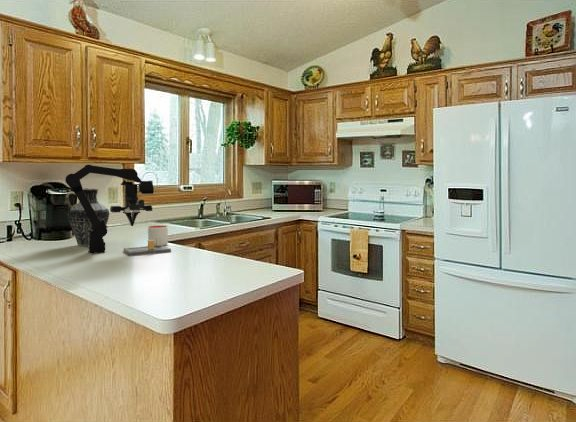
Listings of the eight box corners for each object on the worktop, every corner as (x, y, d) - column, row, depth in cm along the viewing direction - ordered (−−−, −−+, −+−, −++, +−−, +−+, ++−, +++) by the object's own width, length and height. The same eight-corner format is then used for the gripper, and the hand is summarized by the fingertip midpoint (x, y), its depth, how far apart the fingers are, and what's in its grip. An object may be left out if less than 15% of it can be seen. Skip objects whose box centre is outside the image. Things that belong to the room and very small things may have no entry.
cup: (162, 247, 206) (161, 228, 206) (144, 246, 208) (144, 227, 208) (171, 244, 216) (171, 225, 215) (154, 243, 218) (154, 225, 217)
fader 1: (149, 249, 189) (148, 240, 189) (148, 248, 191) (147, 240, 190) (154, 248, 190) (154, 240, 190) (153, 248, 192) (152, 239, 192)
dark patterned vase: (98, 241, 224) (96, 187, 221) (117, 244, 212) (115, 188, 210) (59, 245, 207) (57, 188, 204) (78, 250, 196) (76, 189, 193)
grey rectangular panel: (129, 255, 183) (129, 252, 183) (123, 251, 193) (123, 248, 193) (170, 251, 193) (170, 248, 193) (162, 247, 204) (162, 244, 204)
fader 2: (156, 245, 199) (156, 237, 199) (155, 245, 200) (155, 237, 200) (161, 245, 200) (161, 237, 200) (160, 244, 202) (160, 236, 202)
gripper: (114, 195, 183) (115, 229, 184) (155, 194, 194) (155, 226, 195) (109, 194, 192) (110, 226, 194) (149, 193, 203) (149, 224, 204)
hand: (132, 226), depth 196 cm, fingers closed
